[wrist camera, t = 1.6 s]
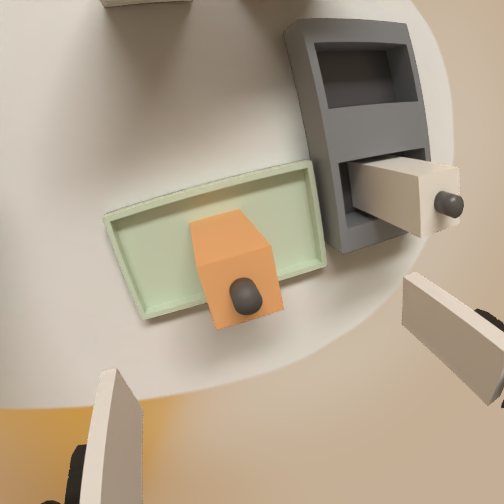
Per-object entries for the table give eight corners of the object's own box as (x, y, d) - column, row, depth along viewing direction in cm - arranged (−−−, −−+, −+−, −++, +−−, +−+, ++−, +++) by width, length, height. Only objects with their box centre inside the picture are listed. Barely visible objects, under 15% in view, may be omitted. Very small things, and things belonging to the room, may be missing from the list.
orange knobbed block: (203, 268, 29) (220, 345, 18) (189, 222, 27) (197, 279, 16) (250, 254, 29) (292, 322, 18) (239, 208, 27) (279, 255, 17)
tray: (143, 312, 29) (142, 320, 28) (106, 213, 25) (102, 217, 24) (321, 260, 31) (327, 265, 30) (305, 159, 28) (311, 160, 26)
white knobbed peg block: (353, 206, 29) (435, 245, 19) (346, 161, 28) (434, 180, 17) (389, 196, 30) (474, 229, 19) (384, 154, 28) (474, 170, 18)
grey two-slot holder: (323, 240, 31) (342, 254, 27) (282, 32, 23) (298, 18, 19) (410, 214, 32) (433, 224, 28) (382, 32, 24) (406, 23, 21)
